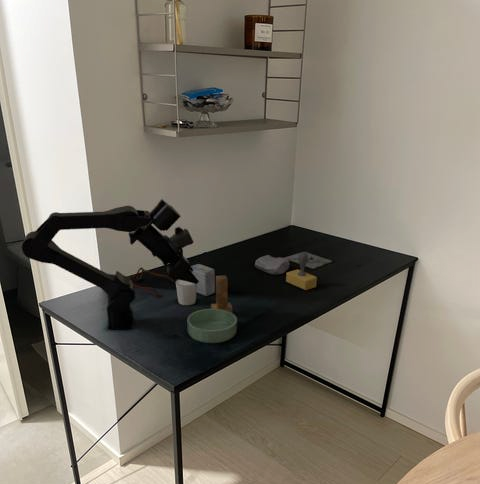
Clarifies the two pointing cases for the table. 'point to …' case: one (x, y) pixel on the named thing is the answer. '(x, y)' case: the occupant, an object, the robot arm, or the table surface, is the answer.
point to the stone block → (272, 264)
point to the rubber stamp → (301, 275)
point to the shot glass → (186, 292)
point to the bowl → (212, 325)
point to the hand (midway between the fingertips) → (194, 276)
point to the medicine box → (204, 279)
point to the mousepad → (310, 260)
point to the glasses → (150, 273)
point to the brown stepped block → (221, 294)
